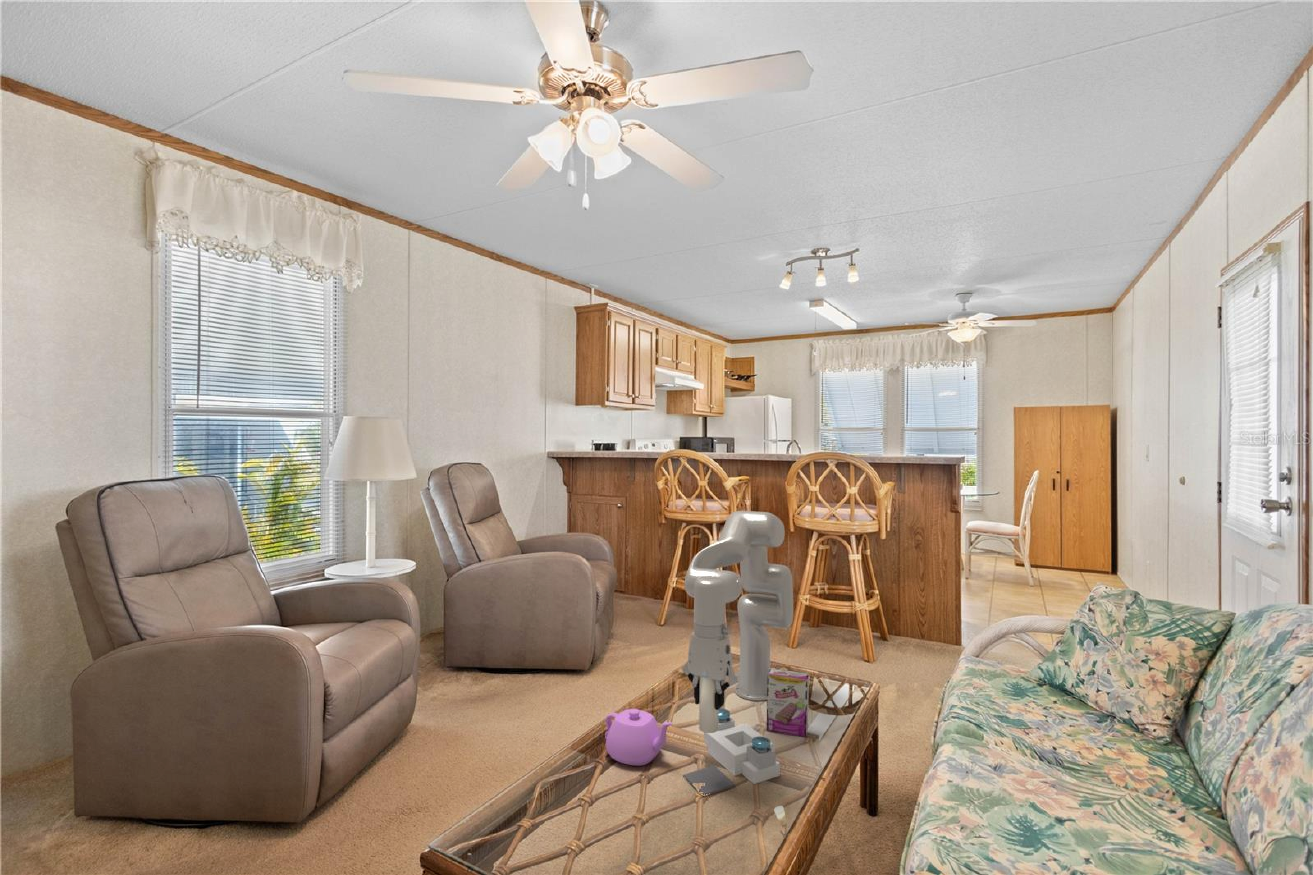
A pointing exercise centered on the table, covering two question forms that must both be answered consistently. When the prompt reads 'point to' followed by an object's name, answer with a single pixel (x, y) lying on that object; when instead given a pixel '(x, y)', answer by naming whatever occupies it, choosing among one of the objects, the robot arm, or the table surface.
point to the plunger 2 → (761, 744)
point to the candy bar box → (787, 702)
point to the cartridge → (707, 704)
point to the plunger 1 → (723, 715)
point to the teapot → (634, 737)
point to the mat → (710, 780)
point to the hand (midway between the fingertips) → (709, 704)
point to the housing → (741, 752)
